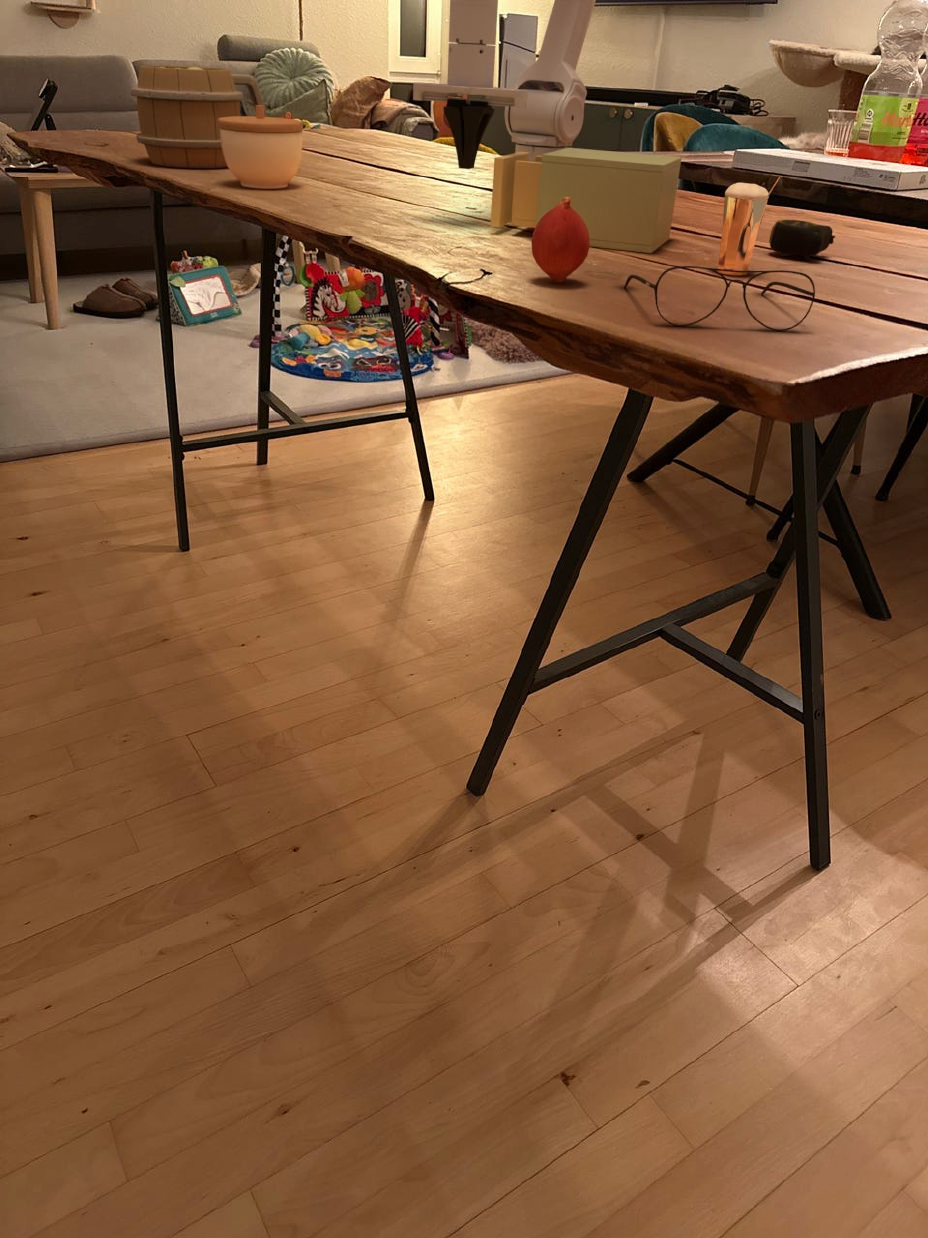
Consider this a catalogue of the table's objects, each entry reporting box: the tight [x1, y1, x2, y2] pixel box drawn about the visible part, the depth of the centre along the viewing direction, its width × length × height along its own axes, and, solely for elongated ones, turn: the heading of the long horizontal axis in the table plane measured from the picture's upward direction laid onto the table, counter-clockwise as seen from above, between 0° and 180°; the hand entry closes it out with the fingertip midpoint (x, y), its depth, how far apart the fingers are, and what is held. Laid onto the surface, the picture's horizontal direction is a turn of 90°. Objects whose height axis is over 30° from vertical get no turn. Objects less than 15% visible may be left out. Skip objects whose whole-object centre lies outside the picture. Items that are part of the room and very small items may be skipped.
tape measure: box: [768, 219, 836, 259], centre depth 114 cm, size 7×7×4 cm
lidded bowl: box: [218, 105, 304, 190], centre depth 143 cm, size 13×13×11 cm
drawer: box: [490, 152, 542, 229], centre depth 118 cm, size 15×10×8 cm
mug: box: [130, 64, 268, 169], centre depth 164 cm, size 19×25×15 cm
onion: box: [531, 197, 591, 283], centre depth 93 cm, size 6×6×8 cm
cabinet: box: [537, 147, 682, 254], centre depth 116 cm, size 15×12×10 cm
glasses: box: [623, 265, 816, 332], centre depth 87 cm, size 14×15×5 cm
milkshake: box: [717, 176, 781, 277], centre depth 101 cm, size 4×5×10 cm
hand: (466, 168), depth 120 cm, fingers closed
